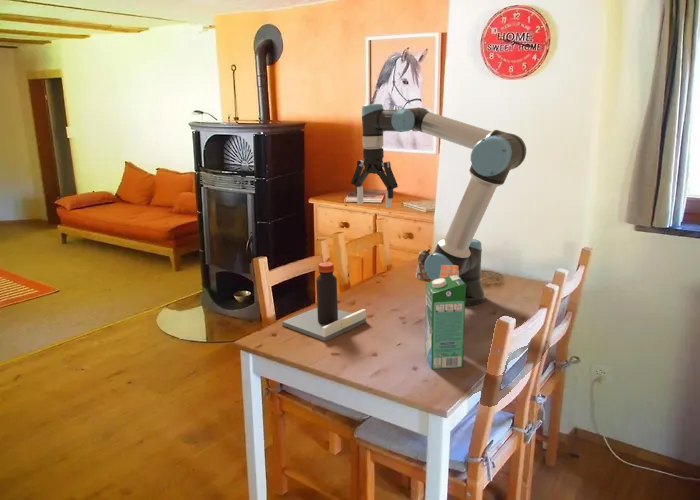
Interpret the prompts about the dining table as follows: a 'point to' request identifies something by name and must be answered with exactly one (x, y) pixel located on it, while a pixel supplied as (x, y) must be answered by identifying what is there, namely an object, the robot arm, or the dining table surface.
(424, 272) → the figurine
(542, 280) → the dining table surface
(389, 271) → the dining table surface
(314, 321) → the grey flat square slab
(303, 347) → the dining table surface
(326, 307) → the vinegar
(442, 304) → the milk carton
